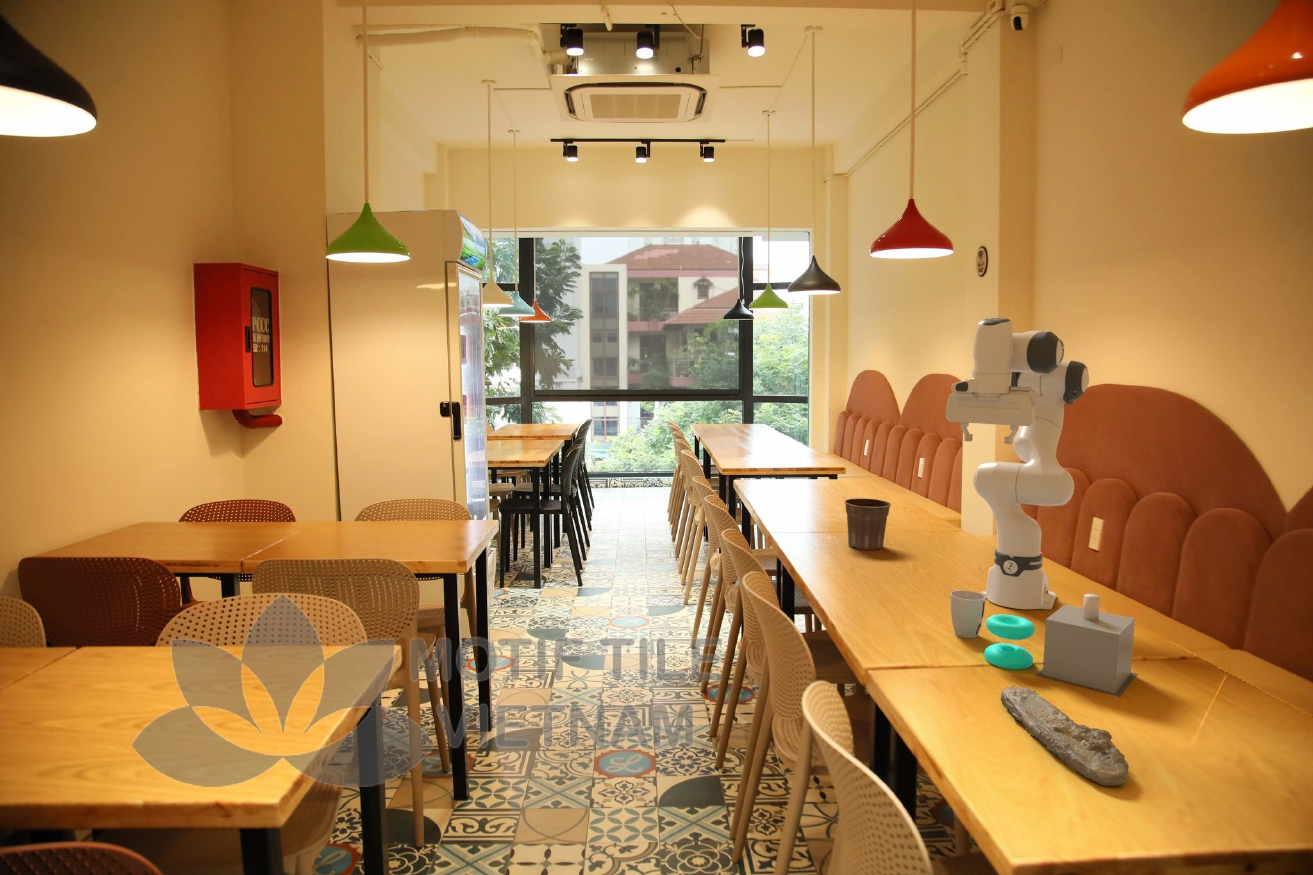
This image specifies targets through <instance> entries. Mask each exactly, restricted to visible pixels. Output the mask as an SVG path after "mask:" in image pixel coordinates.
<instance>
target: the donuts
mask: <svg viewBox="0 0 1313 875" xmlns="http://www.w3.org/2000/svg"><path fill="white" fill-rule="evenodd" d="M985 627H986V629H987V630H988V631H989V633H991V634H992V635H993V636H996V637H998V638H1000V639H1004V640H1010V641H1022V640H1026V639H1029V638H1031V637H1032V636H1033V635H1034V634H1035V632H1036V628H1035V627H1036V626H1035V625H1034V624H1033V622H1032V621H1030V620H1028V619H1027V618H1025V617H1022V616H1018V615H1014V614H1012V615H1011V614H993V615H991V616H989V617H987V619H986V621H985ZM983 656H984V658H985V660H986V662H988V663H989V664H991V665H993V666H996V667H999V668H1003V669H1006V670H1027V669H1028V668H1031V667H1032V665H1033V663H1034V658H1033V655H1032V654H1031V652H1030V651H1029V650H1028V649H1026V648H1024V647H1022V646H1019V645H1017V644H1013V643H1004V642H1003V643H994V644H991V645H989V646H987V647H986V648H985V649H984V652H983Z"/></svg>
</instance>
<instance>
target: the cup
mask: <svg viewBox="0 0 1313 875" xmlns="http://www.w3.org/2000/svg"><path fill="white" fill-rule="evenodd" d="M949 594H950V599H949V600H950V614H951V623H952V626H953V630H954V634H955V635H956V636H957V637H959V638H960V637H961V638H964V639H975V638H977V637H978V635H979V632H980V630H981V628H982V624H983V619H984V616H985V608H986V599H987V598H986V596H985V595H983V594H981V592H977V591H972V590H962V589H960V590H953V591H951V592H950V593H949Z"/></svg>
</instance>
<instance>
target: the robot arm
mask: <svg viewBox="0 0 1313 875" xmlns="http://www.w3.org/2000/svg"><path fill="white" fill-rule="evenodd" d="M977 323H978V324H977V326H976V330H975V336H974V341H973V343H974V344H973V352H972V353H973V354H972V356H973V361H974V362H973V363H974V366H973V369H972V373H971V378H969V379H968V378H967V379H964V380H960V381H958V382H955V383H952V384H951V386H950V387H951V388H950V390H951V392H952V393H951V394H950V395H949V396H948V399H947V402H946V409H945V418H946V420H947V421H948V422H949V423H950V422H951V423H953V422H954V423H960V424H959V427H960V430H961V431H962V434H964V437H963V439H964V440H963V441H964V442H972V441H974V440H973V436H974V434H973V433H970V432H969V429H968V428H969V425H970V424H985V425H996V426H997V425H999V426H1001V425H1002V426H1009V430H1010V431H1011V432H1010V433H1009V435H1007V436H1004V442H1003V443H1004V445H1012V448H1013V452H1014V453H1015V455H1016V456H1017V457H1018V458H1019V459H1020V460H1021V461H1023V462H1024V463H1022V462H1021V463H1019V462H1010V461H1009V462H1007V461H989V462H983V463H981V464H980V465H979V466H977V468H976V469H975V471H974V473H973V478H972V482H973V488H974V490H975V491H976V493H977V494H978V496H980V497H981V498H982V499H983V500H984V502H986V503H987V504H988V506H989V507H990V510H992V513H993V515H994V518H995V522H996V549H995V550H994V555H993V560H994V561H993V562H994V565H992V566H991V567H989V569H988V572H987V573H988V574H987V581H986V590H982V591H981V592H980V593H981V594H983V595H985V596H986V599H987V600H988V601H989V602H991V603H993V604H994V605H998V606H1001V607H1006V608H1010V609H1018V610H1052V609H1053V606H1054V604H1055V601H1056V598H1057V593H1056V592H1054V591H1051V590H1049V589H1048V588H1049V576H1048V575H1047V574H1046V572H1045V571H1044V569H1043V568H1042V567H1043V559H1044V552H1042V551H1041V546H1042V528H1041V525H1040V524H1039V523H1038V521H1037V520H1036V519H1034V518H1033V517H1031V516H1029V515H1028V514H1026V512H1024V510H1023V509H1022V506H1021V504H1022V505H1023V504H1025V505H1031V506H1040V507H1055V506H1057V507H1058V506H1063V505H1064V506H1065V505H1066V504H1068V502H1069V501H1070V500H1071V499H1072V497H1073V495H1074V491H1075V482H1074V478H1073V477H1072V474H1070V472H1069V471H1068V470H1067V469H1065V468H1064V467H1063V466H1061V464H1060V463H1059V462H1058V459H1057V449H1058V445H1059V441H1060V437H1061V434H1062V430H1063V426H1064V417H1065V408H1064V405H1065V403H1066V404H1067V406H1071V405H1073V403H1074V402H1075V401H1077V400H1078V399H1080V398H1082V396H1083V395H1084V394H1085V393H1086V391H1087V389H1088V386H1089V383H1090V375H1089V370H1088V367H1087V366H1086V364H1085V363H1083V362H1080V361H1077V360H1076V361H1075V360H1070V361H1069V360H1064V354H1065V344H1064V342H1063V341H1062V340H1061V339H1060V338H1059V336H1057V335H1056V334H1055V333H1054V332H1053V331H1044V330H1043V331H1042V330H1028V331H1025V332H1014V331H1013V323H1012V320H1011V319H1009V318H1004V317H993V318H992V317H991V318H985V319H981V320H980V321H978V322H977Z"/></svg>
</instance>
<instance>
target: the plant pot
mask: <svg viewBox="0 0 1313 875" xmlns="http://www.w3.org/2000/svg"><path fill="white" fill-rule="evenodd" d="M844 505H845V513H846V520H847V521H846V522H847V524H846V525H847V538H848V539H847V540H848V542H847V543H848V546H849V547H851V548H856V549H857V550H864V551H876V550H878V549H879V550H881V549H883V548H884V544H885V543H884V541H885V534H886V529H887V528H886V527H887V521H888V516H889V514H890V513H889V512H890V507H891V506H892V503H891V502H889V501H885V500H881V499H876V498H861V497H859V498H847V499H845V500H844Z"/></svg>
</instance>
